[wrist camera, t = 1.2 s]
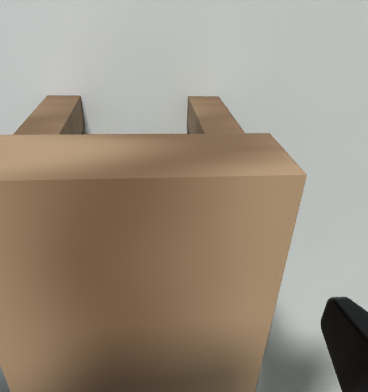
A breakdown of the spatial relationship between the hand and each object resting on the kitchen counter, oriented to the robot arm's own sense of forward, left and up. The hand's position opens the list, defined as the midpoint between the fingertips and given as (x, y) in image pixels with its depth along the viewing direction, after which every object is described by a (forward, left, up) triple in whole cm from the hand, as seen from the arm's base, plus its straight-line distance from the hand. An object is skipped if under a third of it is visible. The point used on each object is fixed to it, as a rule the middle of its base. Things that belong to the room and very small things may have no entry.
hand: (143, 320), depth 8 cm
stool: (0, 0, -6) cm, 6 cm away
